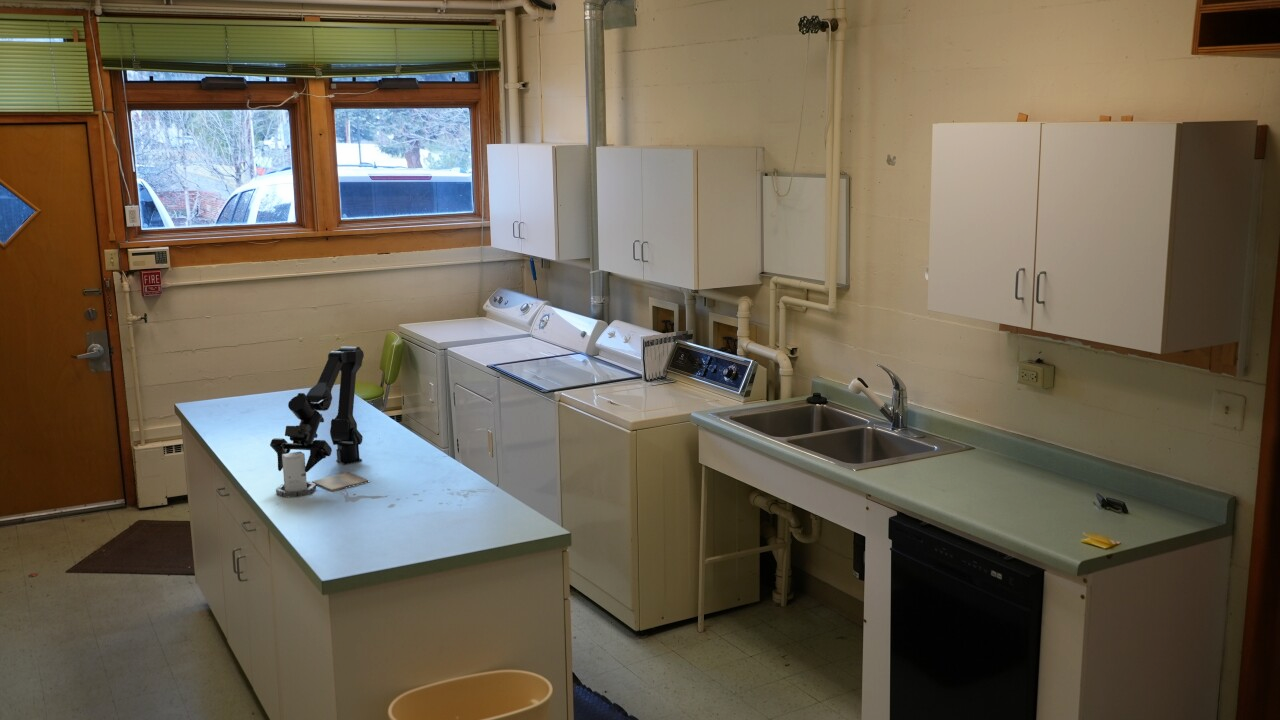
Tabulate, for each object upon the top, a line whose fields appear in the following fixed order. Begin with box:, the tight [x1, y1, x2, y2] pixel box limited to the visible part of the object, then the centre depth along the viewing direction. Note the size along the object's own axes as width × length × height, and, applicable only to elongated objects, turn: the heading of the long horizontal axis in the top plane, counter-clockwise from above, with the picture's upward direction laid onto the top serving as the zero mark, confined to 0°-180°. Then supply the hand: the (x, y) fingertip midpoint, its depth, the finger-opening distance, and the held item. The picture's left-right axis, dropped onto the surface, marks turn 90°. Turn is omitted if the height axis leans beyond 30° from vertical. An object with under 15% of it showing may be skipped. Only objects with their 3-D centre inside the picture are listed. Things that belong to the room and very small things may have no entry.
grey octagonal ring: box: [275, 480, 317, 498], centre depth 344 cm, size 11×11×2 cm
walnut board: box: [311, 471, 370, 492], centre depth 352 cm, size 13×13×1 cm
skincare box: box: [282, 451, 308, 491], centre depth 343 cm, size 6×4×12 cm
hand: (292, 471), depth 342 cm, fingers open, 9 cm apart
